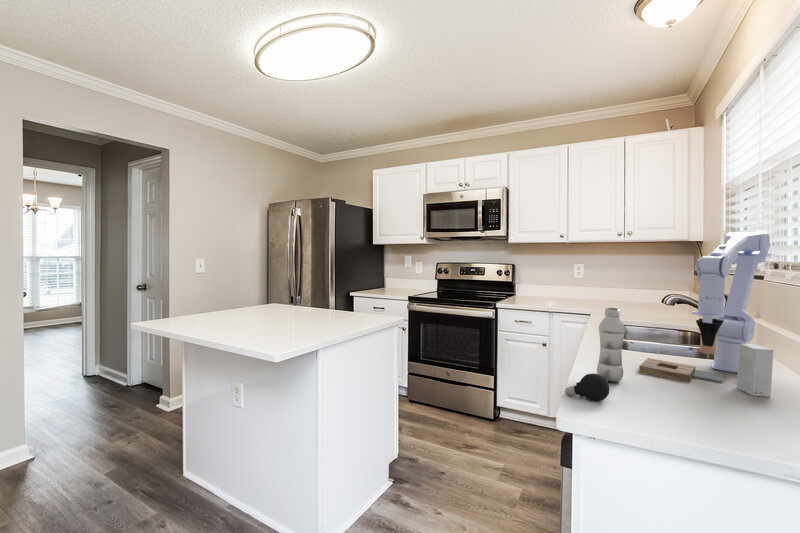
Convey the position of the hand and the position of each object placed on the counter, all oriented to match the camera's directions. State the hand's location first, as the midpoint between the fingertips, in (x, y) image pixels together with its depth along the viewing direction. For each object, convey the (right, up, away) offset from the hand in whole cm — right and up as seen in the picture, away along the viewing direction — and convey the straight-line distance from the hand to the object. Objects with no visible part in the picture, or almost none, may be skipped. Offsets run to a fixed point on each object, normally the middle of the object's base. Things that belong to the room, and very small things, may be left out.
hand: (708, 344), depth 111 cm
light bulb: (-44, -10, -19) cm, 49 cm away
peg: (0, -2, 0) cm, 2 cm away
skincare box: (+2, -10, -12) cm, 16 cm away
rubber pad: (0, -9, 0) cm, 9 cm away
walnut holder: (-9, -9, +4) cm, 14 cm away
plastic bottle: (-31, -9, -5) cm, 33 cm away
